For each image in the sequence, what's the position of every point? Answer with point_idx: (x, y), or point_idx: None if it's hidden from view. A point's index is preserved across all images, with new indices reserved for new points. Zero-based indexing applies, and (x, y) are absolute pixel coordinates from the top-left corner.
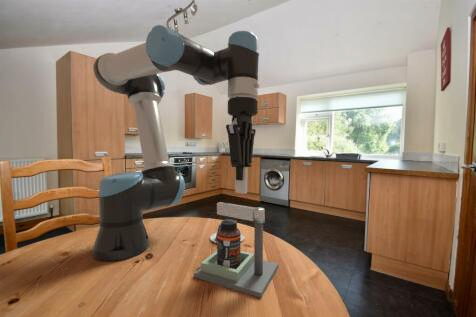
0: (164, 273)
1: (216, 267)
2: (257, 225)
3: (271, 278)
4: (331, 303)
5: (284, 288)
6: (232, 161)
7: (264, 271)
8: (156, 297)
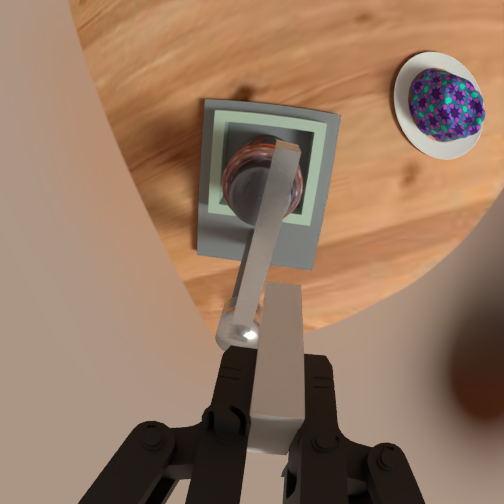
0: (197, 30)
1: (211, 156)
2: None
3: None
4: None
5: None
6: (130, 447)
7: None
8: (127, 78)
